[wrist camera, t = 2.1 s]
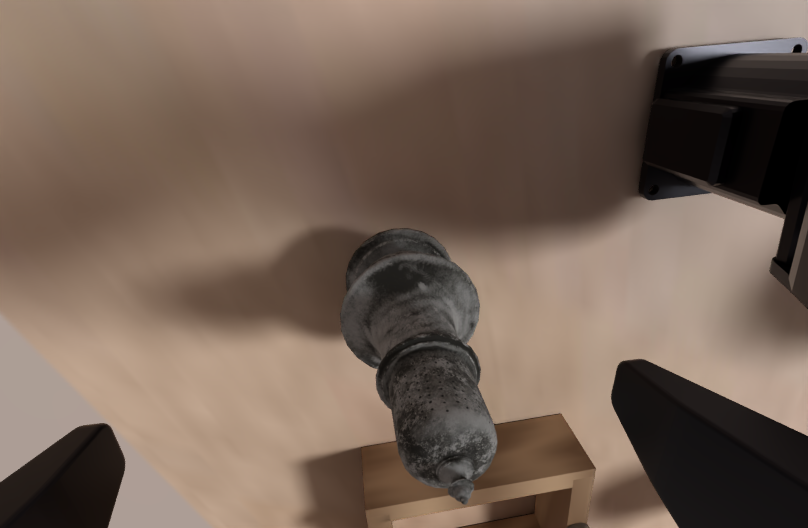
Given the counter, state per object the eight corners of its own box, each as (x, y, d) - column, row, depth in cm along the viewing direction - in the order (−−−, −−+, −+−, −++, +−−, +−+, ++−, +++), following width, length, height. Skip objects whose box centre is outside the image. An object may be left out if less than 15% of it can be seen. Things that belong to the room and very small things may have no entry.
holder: (564, 413, 27) (607, 480, 23) (552, 517, 31) (586, 590, 27) (357, 448, 26) (362, 526, 21) (375, 550, 30) (381, 633, 26)
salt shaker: (410, 347, 23) (475, 597, 12) (315, 294, 21) (294, 541, 10) (482, 264, 22) (626, 467, 11) (387, 198, 20) (451, 370, 9)
